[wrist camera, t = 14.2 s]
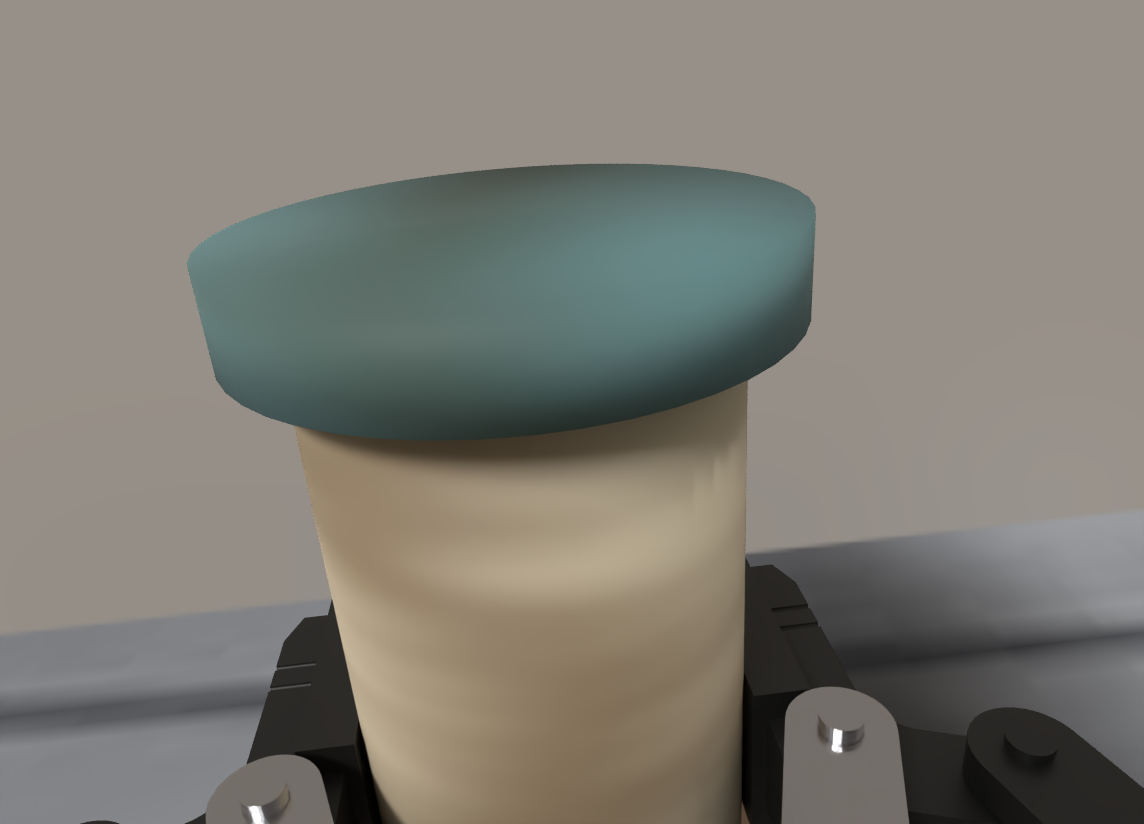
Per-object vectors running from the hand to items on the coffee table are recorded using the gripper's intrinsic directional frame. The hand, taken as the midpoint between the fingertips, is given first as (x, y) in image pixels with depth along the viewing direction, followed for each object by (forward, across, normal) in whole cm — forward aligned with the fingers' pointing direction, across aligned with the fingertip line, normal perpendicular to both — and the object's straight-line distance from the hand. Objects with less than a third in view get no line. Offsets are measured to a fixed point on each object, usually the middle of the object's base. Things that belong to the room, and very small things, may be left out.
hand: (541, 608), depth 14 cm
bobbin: (-3, 0, +8) cm, 9 cm away
